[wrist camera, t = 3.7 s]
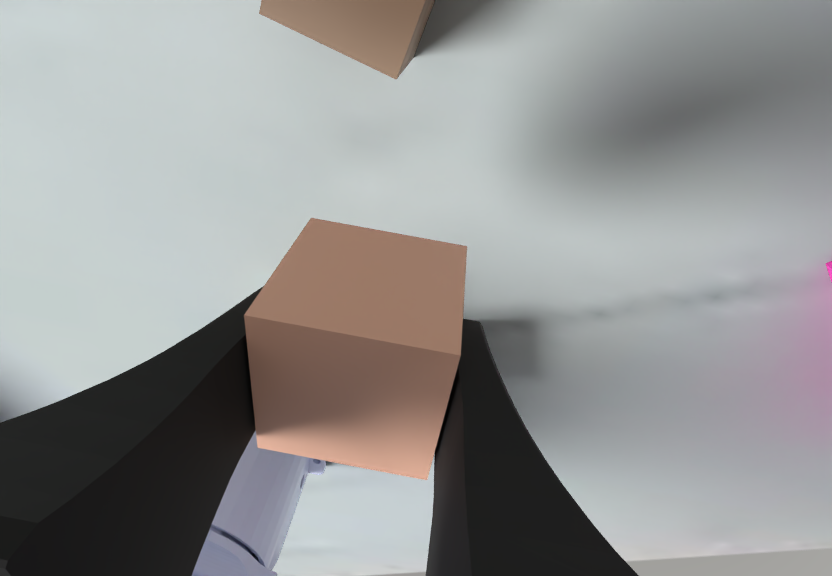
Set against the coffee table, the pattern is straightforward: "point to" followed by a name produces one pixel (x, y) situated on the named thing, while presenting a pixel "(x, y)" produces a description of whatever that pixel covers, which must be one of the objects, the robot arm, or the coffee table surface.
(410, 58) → the walnut cube
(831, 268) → the bracket
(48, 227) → the coffee table surface
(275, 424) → the terracotta cube
